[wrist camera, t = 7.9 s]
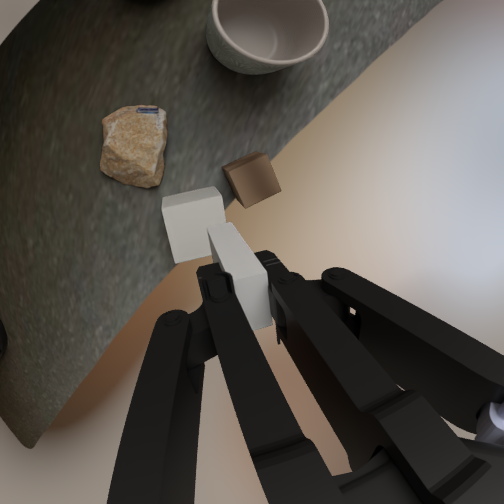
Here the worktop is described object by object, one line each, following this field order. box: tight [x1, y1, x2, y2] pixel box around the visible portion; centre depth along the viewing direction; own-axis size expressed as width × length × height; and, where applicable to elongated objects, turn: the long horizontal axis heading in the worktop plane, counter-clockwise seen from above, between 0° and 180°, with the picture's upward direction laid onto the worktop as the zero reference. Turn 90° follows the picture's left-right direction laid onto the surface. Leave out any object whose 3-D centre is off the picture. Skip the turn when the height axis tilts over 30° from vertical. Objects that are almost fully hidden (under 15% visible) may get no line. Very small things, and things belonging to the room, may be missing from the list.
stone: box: [100, 105, 168, 188], centre depth 31 cm, size 8×10×4 cm
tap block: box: [162, 186, 226, 264], centre depth 36 cm, size 7×7×6 cm
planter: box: [206, 0, 329, 75], centre depth 26 cm, size 12×12×11 cm
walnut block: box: [222, 151, 281, 208], centre depth 36 cm, size 5×5×5 cm
